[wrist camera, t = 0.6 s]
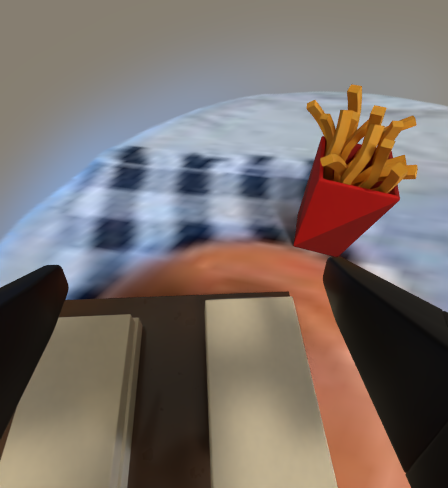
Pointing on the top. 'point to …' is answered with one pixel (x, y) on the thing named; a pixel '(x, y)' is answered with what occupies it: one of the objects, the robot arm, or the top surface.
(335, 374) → the top surface
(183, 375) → the walnut board
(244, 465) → the cream book
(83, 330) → the cream books
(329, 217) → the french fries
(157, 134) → the top surface
